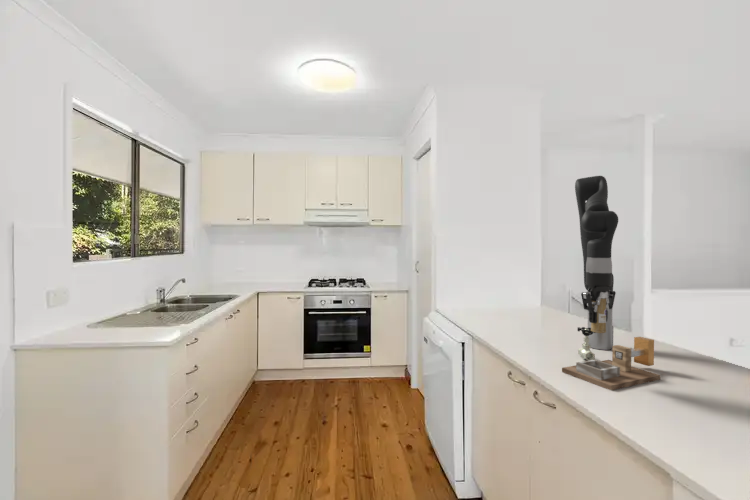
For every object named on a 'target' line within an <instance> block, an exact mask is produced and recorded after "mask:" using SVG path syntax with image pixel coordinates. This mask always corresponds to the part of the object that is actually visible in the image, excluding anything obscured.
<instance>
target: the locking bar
mask: <svg viewBox="0 0 750 500" xmlns="http://www.w3.org/2000/svg"><path fill="white" fill-rule="evenodd" d="M633 339H634V340H633V341H634V342H633V348H631V358H633V362H634V363H636V364H640V365H644V366H647V367H651V366H654V364H655V339H652V338H648V337H644V336H643V337H642V336H635V337H633ZM616 358H620V359H623V353H622V352H619V351H617V352H616Z"/></svg>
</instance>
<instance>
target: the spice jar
mask: <svg viewBox="0 0 750 500" xmlns="http://www.w3.org/2000/svg"><path fill="white" fill-rule="evenodd" d="M600 298H601V301H600V305H599V306H598V307H597V311H596V312H597V323H591V331H592V332H596V333H606V298H607V293H605V292H602V297H600ZM592 302H596V301H592ZM592 306H593V308H594V305H592Z"/></svg>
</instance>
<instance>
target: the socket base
mask: <svg viewBox="0 0 750 500" xmlns="http://www.w3.org/2000/svg"><path fill="white" fill-rule="evenodd" d="M631 349H632V348H631V347H627V346H625V345H620V344H616V345H613V348H612V349H611V350H612V351H611V352H612V353H611V354H612V359H611V360H610V359H607V360H606V359H605V360H598V359H594V360H583V361H578V362H575V364H576V365H572V366H571V365H569V366H565V367H561V373H564V374H567V375H569V376H571V377H574V378H577V379H580V380H582V381H585V382H588V383H590V384H593V385H596V386H598V387H602V388H604V389H607V390H609V391H615V390H619V389H624V388H628V387H633V386H637V385H642V384H646V383H651V382H656V381H659V380H661V374H658V373H654V372H651V371H649V370H644V369H642V368H638V367H634V366H632V357H631ZM617 351H619V352H622V353H623V359H620V358H616V352H617Z"/></svg>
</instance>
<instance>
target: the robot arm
mask: <svg viewBox="0 0 750 500" xmlns="http://www.w3.org/2000/svg"><path fill="white" fill-rule="evenodd" d="M574 189H575V190H574V191H575V196H576V197H575V199H576V204H577V210H578V216H579V231H580V241H581V251H582V257H583V258H582V261H583V283H584V287H585V290H586V291H585V292H583V291H582V292H581V293H580V294H581V300H582V305H583V309H584V310H585V311H587V328H591V323H597V312H596V311H597V307H598V306H599V305H600V301H601V298H600V297H602V292H605V293H607V298H606V333H593V334H592V335H589V336H588V338H589V342H588V343H589V345H591V348H590V349H595V350H596V349H597V350H605V351H606V350H607V351H608V350H612V349H613V346H614V325H613V308H614V302H615V298H616V295H617V292H616V291H615V290H614V280H615V279H614V278H615V277H614V274H613V262H612V249H613V248H612V244H613V239H614V236H615V233H616V230H617V227H618V224H619V215H618V214H617V213H616V212H615V211H613V210H609V204H608V194H609V191H608V190H609V188H608V182H607V179H606V177H605V176H603V175H595V176H588V177H581V178H578V179H576V180H575V183H574ZM592 301H596V302H592ZM592 305H594V308H593V306H592Z"/></svg>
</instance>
